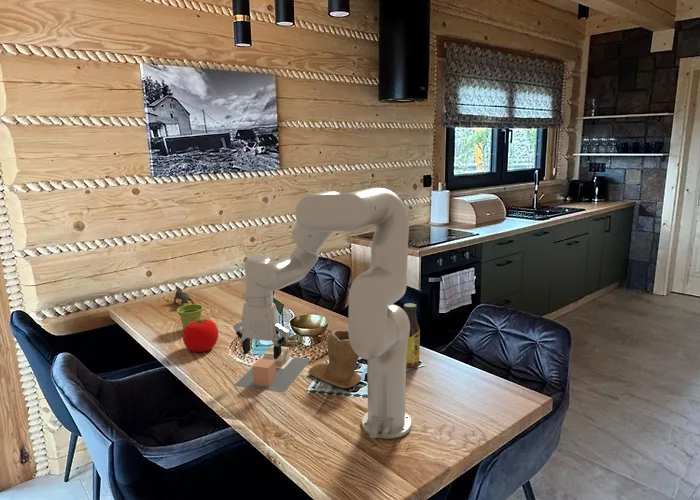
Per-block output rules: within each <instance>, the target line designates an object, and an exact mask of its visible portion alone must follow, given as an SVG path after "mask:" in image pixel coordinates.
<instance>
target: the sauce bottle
mask: <svg viewBox="0 0 700 500" xmlns="http://www.w3.org/2000/svg"><path fill="white" fill-rule="evenodd" d="M417 309H418V308H417V303H416V304H415V303H411V302H408V303H404V304H403V310H404V311H405V312H406V314H407V316H408V318H409V323H410V332H409V339H408V345H407V355H406V369H407V368H410V369H412V368H416V367H418V366H419V365H420V347H421V345H420V342H421V339H420V338H421V328H420V325H419V323H418V320H417Z"/></svg>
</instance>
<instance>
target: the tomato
mask: <svg viewBox="0 0 700 500" xmlns="http://www.w3.org/2000/svg"><path fill="white" fill-rule="evenodd" d="M218 339H219V328H218V326H217V325H216V323H215V322H214V321H213V320H211V319H207V318H206V319H205V318H201V320H196V321H193V322H191V323H190V324H188V325H187V326H186V327H185V329H183V333H182V340H183V344H184V345H185V347H186V348H187V349H188V350H190V351H192V352H195V353H196V352H197V353H200V352H201V353H202V352H206V351H210V350H211V349H212V348H214V347H215V346H216V344H217V343H218Z"/></svg>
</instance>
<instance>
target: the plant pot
mask: <svg viewBox="0 0 700 500" xmlns="http://www.w3.org/2000/svg"><path fill="white" fill-rule="evenodd" d="M203 309H204V306H203V305H202V304H197V303H195V304H192V303H190V304H185V305H184V304H183V306H181V305H180V306H179V307H178V308H177V309H176V310H177V311H176V312H177V313H178V315H179V317H180V320H181V325H182V328H183V330H184V329H185V327H186V326H187V325H188V324H190V323H191V322H193V321H196V320H202V312H203Z"/></svg>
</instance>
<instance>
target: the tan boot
mask: <svg viewBox="0 0 700 500" xmlns="http://www.w3.org/2000/svg"><path fill="white" fill-rule="evenodd" d="M326 345H327V356H328V362H320V363H317V364H314V365H313V366H312V367H310V368H309V370H308V372H307V374H309V375H310V376H312V377H315V378H316V379H318V380H321V381H323V382H325V383H327V384H329V385H332V386H335V387H336V388H337V387H338V388H340V389H349V388H352V387H355V386H356V385H358V384H359V383H360V381H361V380H362V376H361V375H360V374H359V373H357V372H356V365H357V362H358V360H359V358H360V357H359V356H358V355H357V354H356V353H355V352H354V350H353V349H352V347H351V344H350V341H349V334H348V330H345V329H343V330H342V329H335V330H333V331H331V332H330V333H329V335H328V337H327V343H326Z"/></svg>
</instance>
